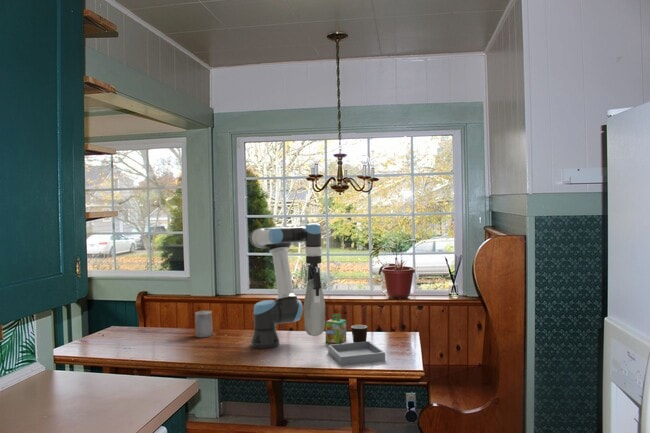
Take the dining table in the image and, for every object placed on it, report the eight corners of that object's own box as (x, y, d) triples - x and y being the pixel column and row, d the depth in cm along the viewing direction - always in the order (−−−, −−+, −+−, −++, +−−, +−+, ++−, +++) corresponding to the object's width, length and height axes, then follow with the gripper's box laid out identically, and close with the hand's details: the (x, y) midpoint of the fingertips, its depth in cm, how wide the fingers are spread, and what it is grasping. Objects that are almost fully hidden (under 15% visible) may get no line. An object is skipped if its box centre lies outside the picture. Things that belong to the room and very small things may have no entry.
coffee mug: (366, 348, 274) (366, 328, 274) (350, 347, 276) (350, 328, 276) (369, 342, 286) (369, 323, 285) (353, 341, 287) (353, 323, 287)
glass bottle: (321, 338, 253) (320, 280, 252) (301, 337, 256) (300, 279, 255) (328, 333, 262) (327, 277, 261) (308, 332, 266) (307, 276, 265)
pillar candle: (205, 332, 315) (203, 307, 315) (216, 334, 310) (215, 309, 309) (192, 336, 308) (191, 310, 307) (203, 338, 302) (202, 312, 301)
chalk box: (325, 342, 286) (324, 315, 286) (331, 338, 295) (330, 312, 294) (341, 344, 283) (340, 316, 282) (347, 340, 291) (346, 313, 291)
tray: (328, 352, 267) (328, 345, 267) (369, 348, 273) (369, 341, 273) (341, 365, 246) (340, 357, 246) (385, 360, 251) (385, 352, 251)
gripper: (327, 257, 248) (327, 304, 249) (315, 252, 270) (316, 295, 271) (311, 258, 246) (312, 305, 247) (301, 253, 268) (301, 296, 269)
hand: (314, 300), depth 259 cm, fingers closed on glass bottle, 10 cm apart
